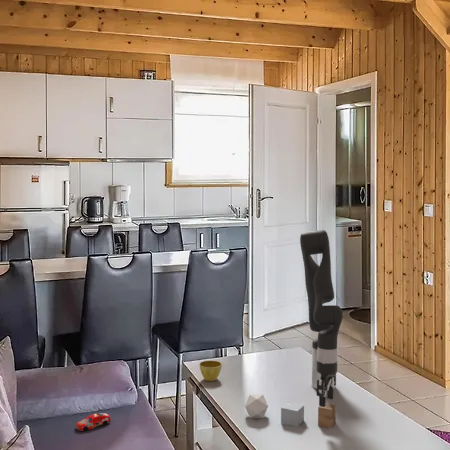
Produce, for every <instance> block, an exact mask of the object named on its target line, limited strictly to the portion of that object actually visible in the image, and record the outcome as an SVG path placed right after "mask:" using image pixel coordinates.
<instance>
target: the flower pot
mask: <svg viewBox="0 0 450 450" xmlns="http://www.w3.org/2000/svg"><path fill="white" fill-rule="evenodd" d="M222 365H223V364H222V362H221V361H218V360H203V361H201V362H199V370H200V373H201V375H202V378H203V379H204V380H205V381H207V382H214V380H215V381H216V380H217V379H218V377H219V375H220V374H221V370H222V367H223V366H222Z"/></svg>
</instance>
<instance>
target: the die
mask: <svg viewBox="0 0 450 450" xmlns="http://www.w3.org/2000/svg"><path fill="white" fill-rule="evenodd" d="M268 407H269V405H268V403H267V400H266V398H265V395H264V394H249V395H248V397H247V400H246V403H245V405H244V408H245V410H246V413H247V415H248V417H249V419H264V418H265V415H266V413H267V409H268Z"/></svg>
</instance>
